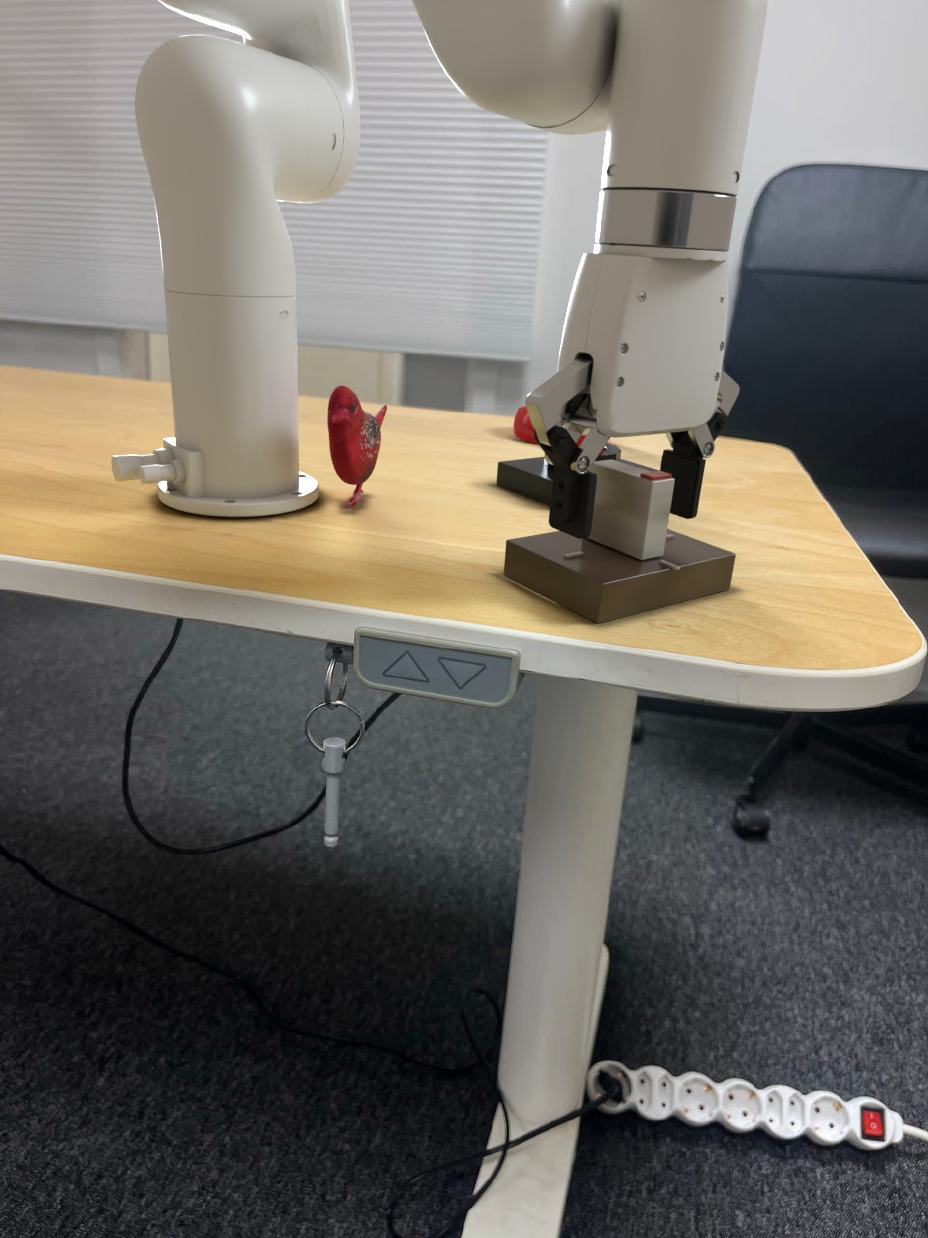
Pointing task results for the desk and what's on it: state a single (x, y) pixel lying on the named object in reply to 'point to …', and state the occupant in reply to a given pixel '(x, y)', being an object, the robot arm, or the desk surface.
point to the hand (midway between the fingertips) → (624, 522)
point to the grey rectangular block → (631, 508)
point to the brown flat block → (616, 573)
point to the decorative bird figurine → (353, 439)
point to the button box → (543, 474)
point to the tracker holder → (524, 426)
